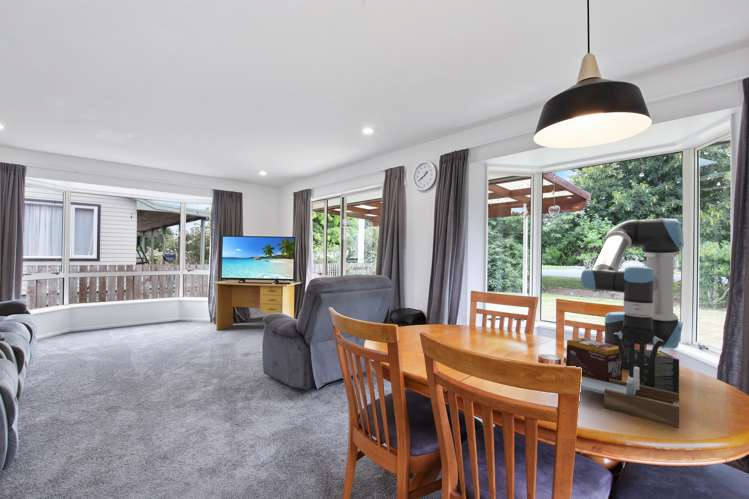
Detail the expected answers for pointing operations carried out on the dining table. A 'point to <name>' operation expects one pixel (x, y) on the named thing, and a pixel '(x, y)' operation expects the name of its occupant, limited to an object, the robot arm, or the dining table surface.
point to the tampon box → (660, 371)
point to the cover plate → (607, 386)
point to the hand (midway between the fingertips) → (636, 388)
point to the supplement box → (595, 359)
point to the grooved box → (644, 403)
